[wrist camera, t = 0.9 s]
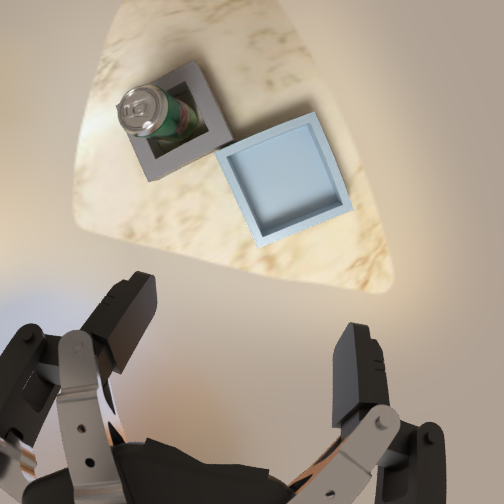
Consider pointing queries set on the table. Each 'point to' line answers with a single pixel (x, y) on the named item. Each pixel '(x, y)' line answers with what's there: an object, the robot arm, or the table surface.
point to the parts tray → (285, 179)
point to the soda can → (156, 114)
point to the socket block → (216, 138)
